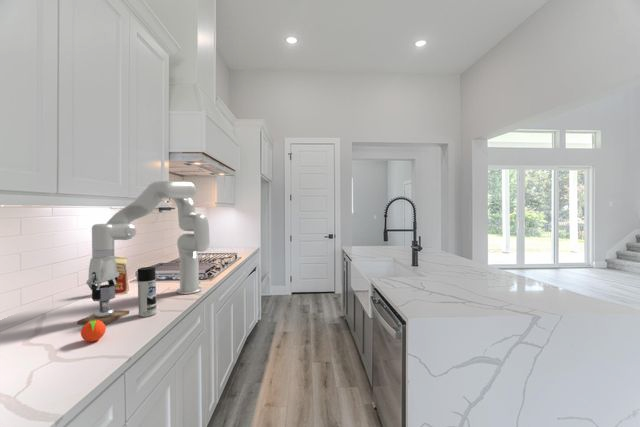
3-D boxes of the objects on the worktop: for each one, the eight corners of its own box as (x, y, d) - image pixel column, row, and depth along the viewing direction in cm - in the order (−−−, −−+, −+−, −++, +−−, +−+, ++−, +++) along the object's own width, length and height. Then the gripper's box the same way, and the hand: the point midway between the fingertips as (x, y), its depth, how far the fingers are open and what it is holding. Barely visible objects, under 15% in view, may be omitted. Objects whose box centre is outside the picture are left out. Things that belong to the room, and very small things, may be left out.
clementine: (106, 342, 104) (105, 322, 104) (80, 348, 100) (79, 326, 100) (105, 335, 110) (105, 315, 110) (81, 339, 106) (81, 319, 106)
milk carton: (109, 295, 160) (108, 257, 159) (109, 291, 168) (109, 255, 167) (129, 293, 165) (129, 256, 164) (129, 289, 173) (128, 253, 172)
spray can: (148, 317, 127) (147, 269, 127) (134, 316, 129) (133, 269, 128) (159, 312, 134) (159, 266, 133) (146, 311, 135) (145, 266, 135)
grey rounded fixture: (103, 312, 130) (102, 296, 130) (117, 312, 130) (117, 296, 130) (90, 318, 124) (90, 301, 124) (106, 318, 123) (105, 301, 123)
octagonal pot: (102, 296, 130) (102, 284, 130) (118, 296, 130) (118, 284, 130) (88, 301, 123) (88, 288, 123) (105, 301, 123) (105, 289, 123)
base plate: (102, 312, 134) (102, 310, 134) (129, 313, 133) (129, 310, 133) (77, 324, 121) (77, 321, 121) (106, 324, 120) (106, 321, 120)
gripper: (110, 250, 135) (111, 290, 136) (76, 257, 118) (77, 302, 118) (126, 250, 135) (127, 291, 135) (95, 257, 117) (96, 303, 118)
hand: (104, 296), depth 127 cm, fingers closed on octagonal pot, 7 cm apart
